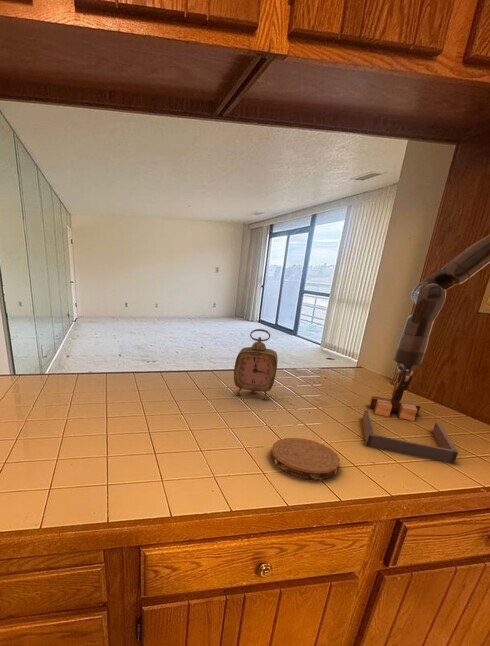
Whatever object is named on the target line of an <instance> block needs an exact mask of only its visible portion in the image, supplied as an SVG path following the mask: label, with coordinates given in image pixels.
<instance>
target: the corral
mask: <svg viewBox="0 0 490 646" xmlns="http://www.w3.org/2000/svg"><path fill="white" fill-rule="evenodd" d="M361 421H362V428H363V435H364V441H365V446H366V447H369V448H374V449H375V448H376V449H379V450H385V451H390V452H394V453H399V454H400V453H401V454H403V455H409V456H414V457H419V458H425V459H428V460H434V461H438V462H444V463H449V464H455V461H456V459H457V456H458V454H459V451H458V450H457V449H456V446H455V445H454V444H453V442H452V440H451V439H450V437H449V435H448V434H447V432H446V431H445V429H444V428H443V425H442V424H441V423H440V422H437V421H435V423H434V425H433V429H432V432H431V433H432V434H433V437H434V438H435V440H436V441H437V443H438V445H439V446H434V445H428V444H424V443H419V442H415V441H414V442H413V441H407V440H402V439H397V438H392V437H387V436H383V435H382V436H381V435H377V434H373V430H372V424H371V418H370V414H369V410H364V411H363V415H362V418H361Z"/></svg>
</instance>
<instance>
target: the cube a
mask: <svg viewBox="0 0 490 646" xmlns="http://www.w3.org/2000/svg"><path fill="white" fill-rule="evenodd" d="M391 409H392V404H391V402H390V401H383V400H377V403H376V407H375V409H374V413H375V415H380V416H385V417H390V414H391Z"/></svg>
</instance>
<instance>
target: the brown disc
mask: <svg viewBox="0 0 490 646" xmlns="http://www.w3.org/2000/svg"><path fill="white" fill-rule="evenodd" d="M270 460H271V463H272V465H273V466H274V467H275V468H276V469H277V470H279V471H280V472H282V473H283V474H285V475H287V476H290V477H292V478H294V479H298V480H301V481H305V482H316V483H317V482H327V481H328V480H331V479H334V478H335V476H336V475H338V472H339V467H340V457H339V455H338V453H336V452H335V451H334V450H333V449H332V448H331V447H329V446H327V445H325V444H323V443H320V442H318V441H315V440H312V439H307V438H302V437H300V438H299V437H285V438H282V439H278V440H277V441H276V442H273V445H272V448H271V453H270Z"/></svg>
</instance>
